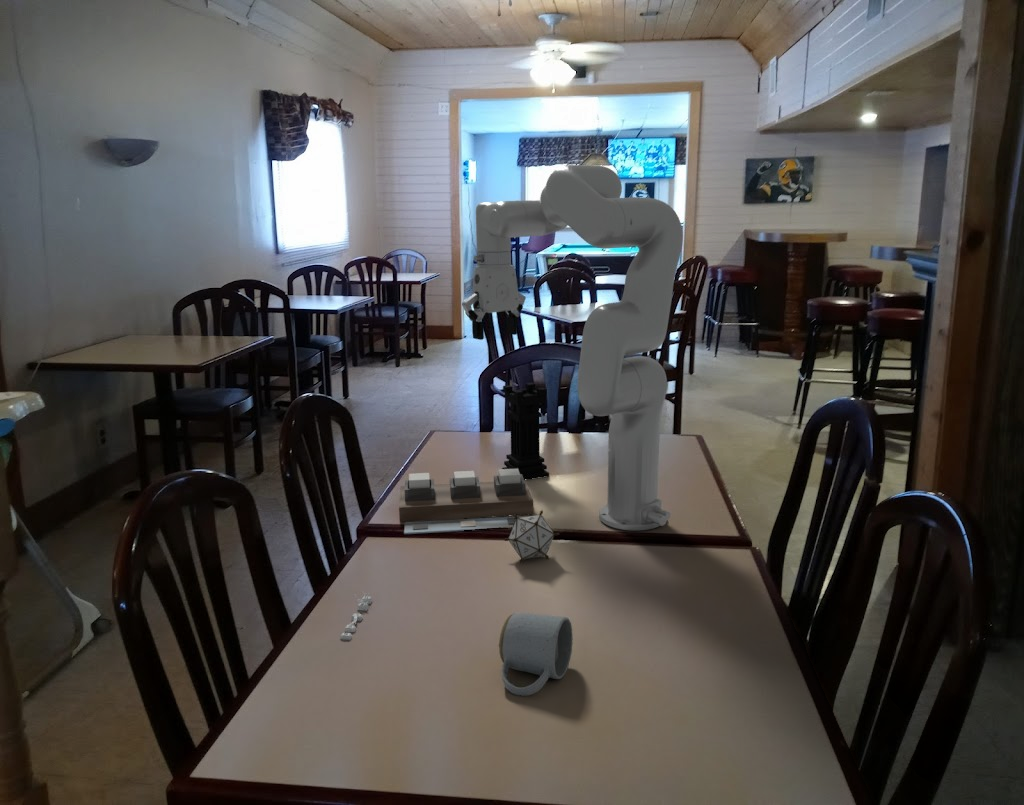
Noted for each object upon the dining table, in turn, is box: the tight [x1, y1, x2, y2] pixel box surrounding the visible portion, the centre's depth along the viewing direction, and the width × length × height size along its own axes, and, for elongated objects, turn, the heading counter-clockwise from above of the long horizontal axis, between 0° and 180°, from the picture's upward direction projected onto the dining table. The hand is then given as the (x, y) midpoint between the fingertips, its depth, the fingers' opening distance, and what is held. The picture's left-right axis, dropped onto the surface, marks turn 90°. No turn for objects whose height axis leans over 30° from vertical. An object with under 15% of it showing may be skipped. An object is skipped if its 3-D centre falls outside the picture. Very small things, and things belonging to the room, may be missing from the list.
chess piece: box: [501, 382, 550, 480], centre depth 179 cm, size 8×8×20 cm
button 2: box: [497, 468, 520, 484], centre depth 162 cm, size 4×4×2 cm
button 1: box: [408, 472, 430, 489], centre depth 160 cm, size 4×4×2 cm
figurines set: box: [339, 590, 373, 641], centre depth 119 cm, size 12×3×3 cm, turn 174°
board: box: [398, 474, 534, 535], centre depth 158 cm, size 18×26×5 cm
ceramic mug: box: [498, 612, 574, 697], centre depth 103 cm, size 11×8×8 cm
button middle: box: [453, 470, 476, 486], centre depth 161 cm, size 4×4×2 cm
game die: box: [503, 509, 560, 565], centre depth 138 cm, size 9×8×10 cm
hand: (495, 336), depth 181 cm, fingers open, 9 cm apart
